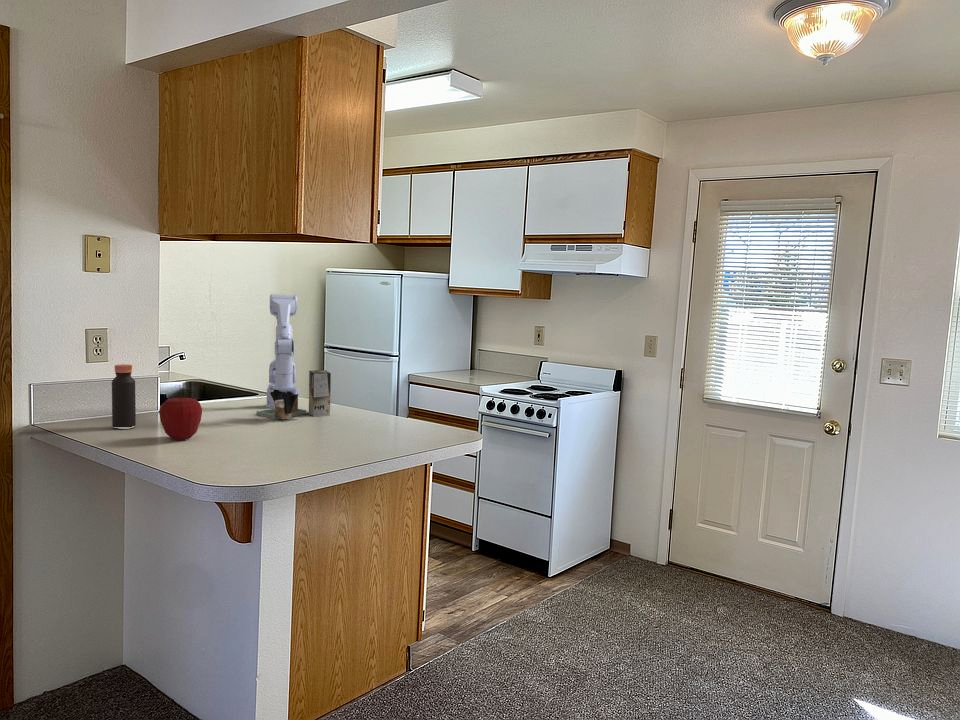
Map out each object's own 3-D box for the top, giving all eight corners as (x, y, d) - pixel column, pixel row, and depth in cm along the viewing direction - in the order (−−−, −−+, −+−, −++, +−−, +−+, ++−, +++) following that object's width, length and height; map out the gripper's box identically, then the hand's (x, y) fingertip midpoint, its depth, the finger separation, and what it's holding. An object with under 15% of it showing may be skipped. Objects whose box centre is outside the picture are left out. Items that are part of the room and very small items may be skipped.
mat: (269, 420, 254) (269, 419, 254) (285, 418, 259) (285, 416, 259) (282, 423, 250) (282, 422, 250) (298, 420, 255) (298, 419, 255)
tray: (256, 415, 262) (256, 411, 262) (288, 411, 273) (288, 406, 273) (274, 419, 256) (274, 414, 256) (306, 414, 268) (306, 410, 267)
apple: (203, 434, 227) (203, 391, 226) (201, 442, 216) (201, 397, 215) (161, 435, 224) (160, 392, 222) (157, 443, 213) (156, 398, 211)
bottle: (110, 429, 229) (109, 366, 227) (114, 425, 236) (113, 364, 234) (134, 429, 231) (133, 366, 229) (137, 425, 238) (136, 364, 236)
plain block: (281, 412, 267) (282, 396, 267) (290, 411, 271) (290, 395, 270) (289, 414, 265) (289, 397, 264) (297, 412, 268) (297, 396, 268)
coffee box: (330, 416, 265) (331, 372, 263) (313, 417, 262) (313, 373, 261) (325, 412, 273) (325, 369, 272) (307, 413, 271) (308, 370, 269)
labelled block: (274, 417, 254) (274, 400, 253) (284, 416, 257) (284, 399, 256) (282, 419, 251) (282, 402, 251) (291, 417, 255) (291, 400, 254)
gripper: (261, 372, 254) (261, 411, 255) (288, 376, 245) (288, 416, 247) (277, 371, 260) (277, 409, 261) (305, 375, 251) (304, 414, 252)
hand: (283, 412), depth 254 cm, fingers closed on labelled block, 4 cm apart
